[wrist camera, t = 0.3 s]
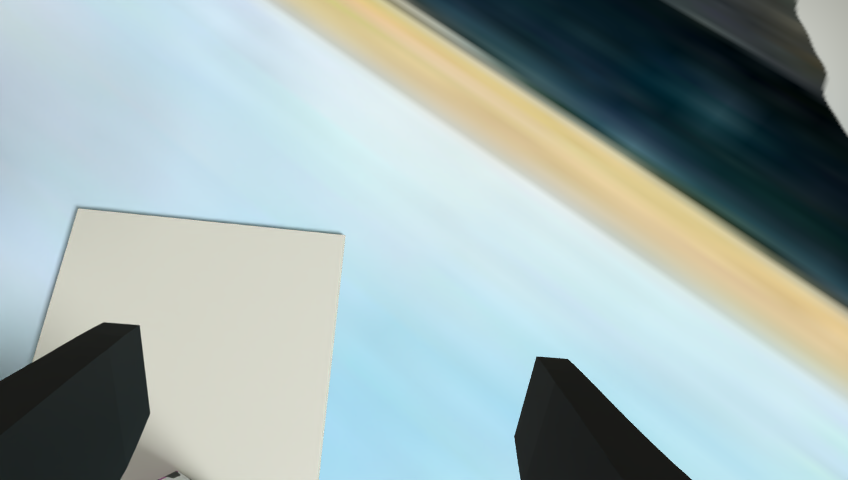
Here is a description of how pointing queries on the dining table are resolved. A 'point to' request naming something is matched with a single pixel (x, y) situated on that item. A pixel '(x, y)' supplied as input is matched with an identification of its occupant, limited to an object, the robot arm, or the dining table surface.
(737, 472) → the dining table surface
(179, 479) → the candy bar box
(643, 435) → the robot arm
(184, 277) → the mat
